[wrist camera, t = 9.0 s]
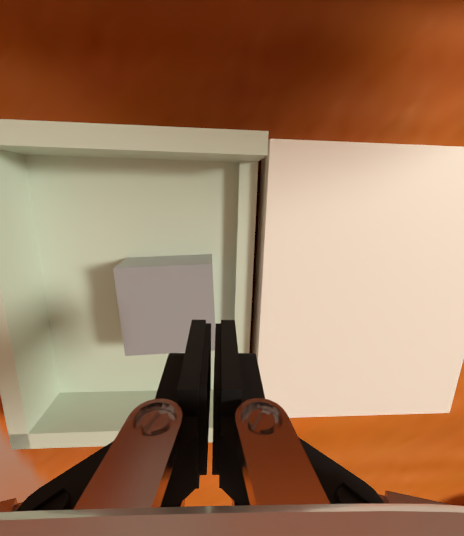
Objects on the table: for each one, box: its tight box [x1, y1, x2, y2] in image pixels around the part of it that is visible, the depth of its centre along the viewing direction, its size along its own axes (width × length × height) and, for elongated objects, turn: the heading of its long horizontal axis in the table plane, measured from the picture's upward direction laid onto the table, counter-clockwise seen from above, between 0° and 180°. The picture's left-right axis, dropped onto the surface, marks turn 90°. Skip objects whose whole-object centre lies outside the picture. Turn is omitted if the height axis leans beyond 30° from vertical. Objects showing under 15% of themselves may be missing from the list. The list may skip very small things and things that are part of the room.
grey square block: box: [113, 254, 215, 356], centre depth 20 cm, size 6×6×3 cm
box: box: [0, 119, 269, 449], centre depth 19 cm, size 20×16×5 cm
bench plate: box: [252, 139, 464, 418], centre depth 21 cm, size 20×16×3 cm
